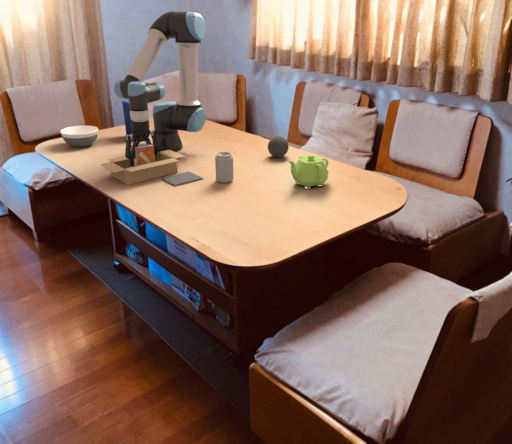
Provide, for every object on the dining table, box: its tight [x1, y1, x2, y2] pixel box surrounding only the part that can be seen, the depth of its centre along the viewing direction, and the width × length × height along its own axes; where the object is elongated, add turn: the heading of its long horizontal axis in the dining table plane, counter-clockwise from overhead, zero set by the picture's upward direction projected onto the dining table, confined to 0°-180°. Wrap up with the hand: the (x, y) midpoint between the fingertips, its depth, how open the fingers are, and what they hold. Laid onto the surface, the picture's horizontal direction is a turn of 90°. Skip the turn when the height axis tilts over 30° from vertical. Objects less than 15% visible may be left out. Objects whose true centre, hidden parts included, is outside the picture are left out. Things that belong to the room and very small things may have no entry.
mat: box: [160, 171, 204, 187], centre depth 228 cm, size 14×11×1 cm
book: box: [121, 99, 134, 139], centre depth 284 cm, size 14×5×20 cm, turn 42°
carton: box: [99, 150, 186, 185], centre depth 233 cm, size 34×21×6 cm, turn 129°
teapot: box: [288, 154, 329, 188], centre depth 219 cm, size 16×14×13 cm
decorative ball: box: [267, 135, 289, 158], centre depth 255 cm, size 10×10×10 cm
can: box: [214, 151, 235, 184], centre depth 224 cm, size 8×8×12 cm
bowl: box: [59, 125, 99, 149], centre depth 273 cm, size 19×19×8 cm
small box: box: [131, 142, 155, 166], centre depth 232 cm, size 8×6×13 cm
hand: (144, 170), depth 234 cm, fingers closed on small box, 8 cm apart
